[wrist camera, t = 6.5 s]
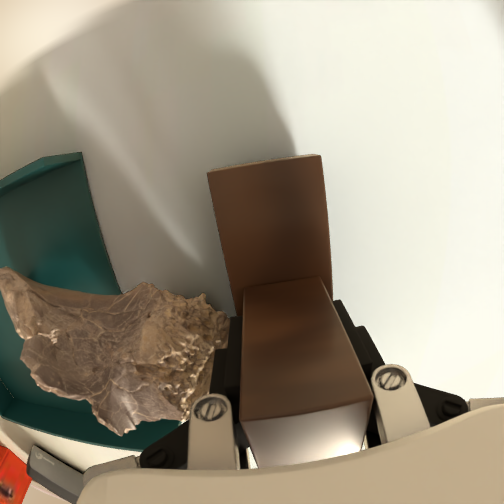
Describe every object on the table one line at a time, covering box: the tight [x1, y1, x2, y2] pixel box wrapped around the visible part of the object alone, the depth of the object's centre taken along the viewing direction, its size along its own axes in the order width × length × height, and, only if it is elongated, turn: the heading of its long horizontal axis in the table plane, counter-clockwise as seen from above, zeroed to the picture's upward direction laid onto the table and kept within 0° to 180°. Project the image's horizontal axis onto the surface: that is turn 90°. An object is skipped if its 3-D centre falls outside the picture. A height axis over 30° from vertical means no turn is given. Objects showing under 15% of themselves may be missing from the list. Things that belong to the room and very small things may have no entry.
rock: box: [0, 266, 230, 436], centre depth 11 cm, size 6×14×7 cm, turn 70°
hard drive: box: [26, 445, 84, 504], centre depth 25 cm, size 13×19×4 cm
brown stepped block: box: [207, 154, 374, 468], centre depth 10 cm, size 4×14×9 cm, turn 10°
